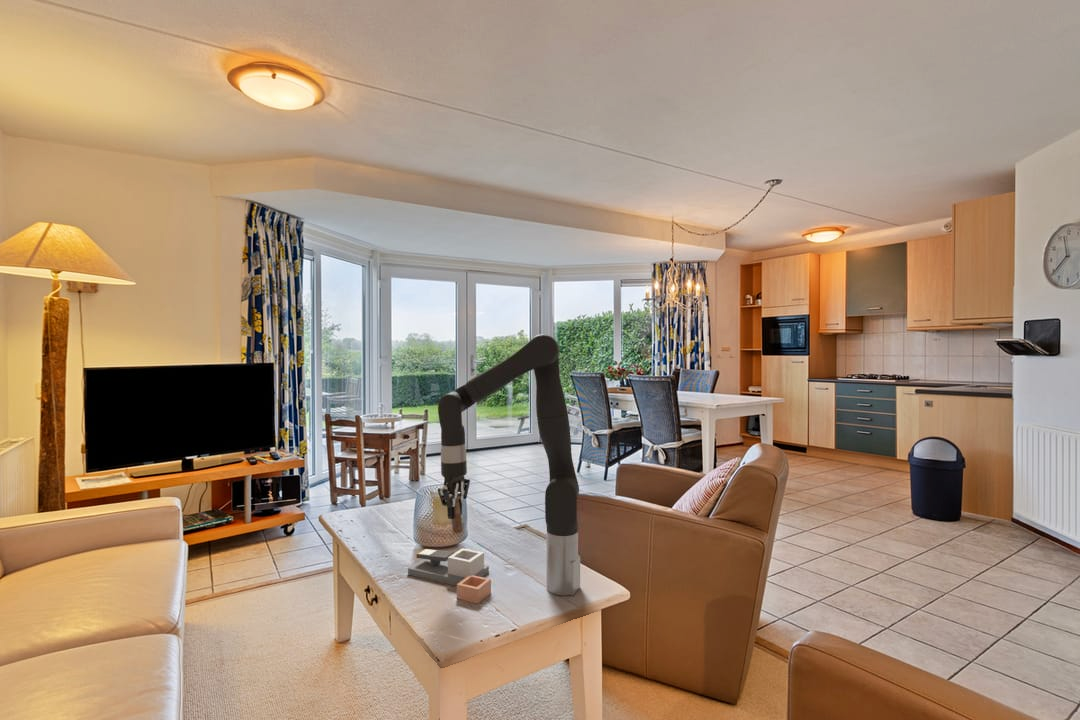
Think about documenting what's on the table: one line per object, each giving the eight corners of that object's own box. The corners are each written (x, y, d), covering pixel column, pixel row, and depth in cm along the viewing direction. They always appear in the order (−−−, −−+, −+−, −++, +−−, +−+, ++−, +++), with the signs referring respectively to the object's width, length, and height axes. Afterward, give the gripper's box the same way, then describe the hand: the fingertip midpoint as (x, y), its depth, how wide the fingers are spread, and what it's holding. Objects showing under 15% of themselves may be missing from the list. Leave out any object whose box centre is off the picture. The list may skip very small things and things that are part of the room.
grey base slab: (488, 572, 165) (488, 550, 165) (467, 588, 154) (467, 564, 154) (431, 560, 174) (431, 539, 174) (408, 574, 163) (407, 552, 163)
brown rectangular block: (465, 529, 157) (459, 493, 157) (459, 533, 154) (453, 495, 154) (456, 529, 158) (451, 493, 158) (451, 533, 155) (445, 496, 156)
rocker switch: (454, 555, 166) (454, 551, 166) (445, 561, 161) (445, 557, 161) (426, 552, 171) (426, 548, 171) (416, 558, 166) (416, 554, 166)
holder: (490, 592, 151) (490, 579, 151) (478, 603, 145) (478, 589, 145) (470, 588, 154) (470, 574, 154) (456, 598, 148) (456, 584, 148)
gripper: (450, 465, 148) (451, 525, 148) (477, 455, 161) (478, 511, 161) (428, 463, 151) (430, 522, 152) (456, 453, 164) (458, 508, 164)
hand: (455, 516), depth 156 cm, fingers closed on brown rectangular block, 3 cm apart
